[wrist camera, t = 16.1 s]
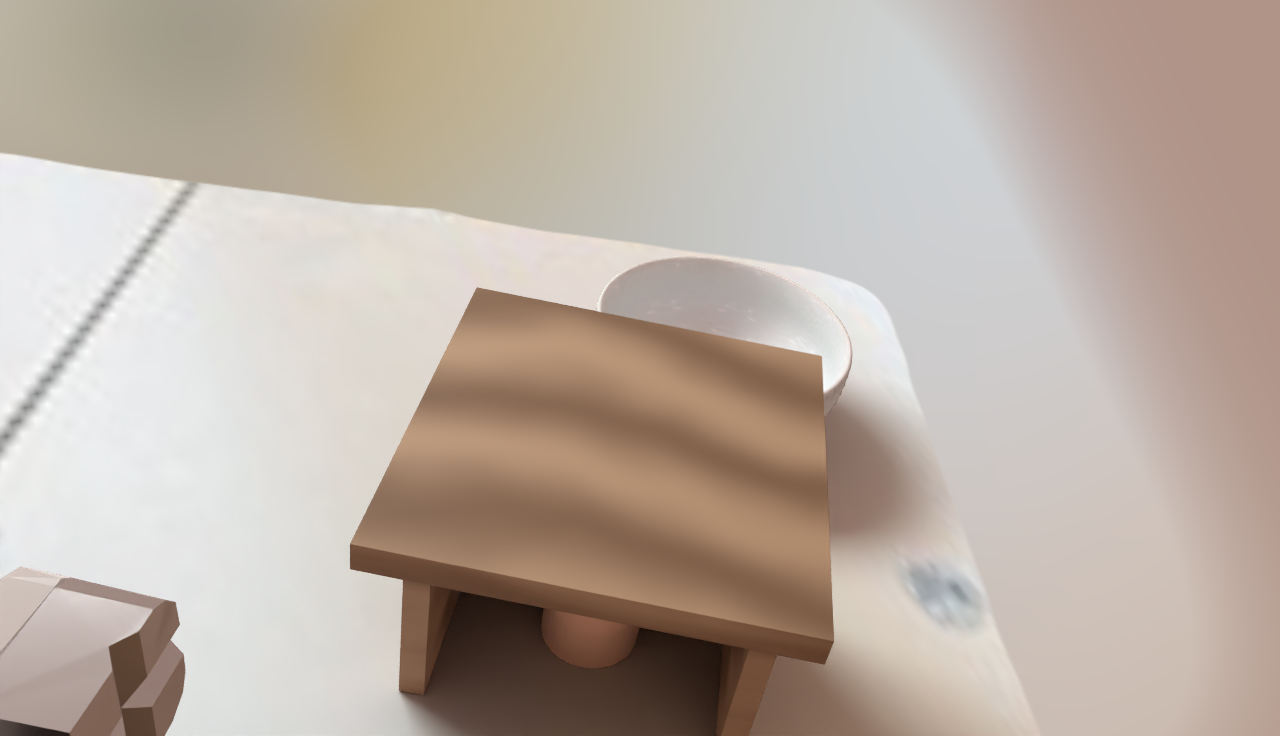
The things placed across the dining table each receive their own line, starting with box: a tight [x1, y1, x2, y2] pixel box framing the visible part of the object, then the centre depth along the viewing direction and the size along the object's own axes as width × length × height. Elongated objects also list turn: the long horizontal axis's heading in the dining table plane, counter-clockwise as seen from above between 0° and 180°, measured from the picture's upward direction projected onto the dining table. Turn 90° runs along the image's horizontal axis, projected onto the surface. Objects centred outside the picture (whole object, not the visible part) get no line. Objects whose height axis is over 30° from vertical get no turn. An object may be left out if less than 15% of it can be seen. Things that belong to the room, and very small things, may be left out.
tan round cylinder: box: [541, 608, 639, 668], centre depth 53 cm, size 5×5×7 cm
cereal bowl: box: [596, 256, 852, 416], centre depth 70 cm, size 17×17×7 cm
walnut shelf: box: [350, 288, 834, 736], centre depth 47 cm, size 17×16×16 cm
